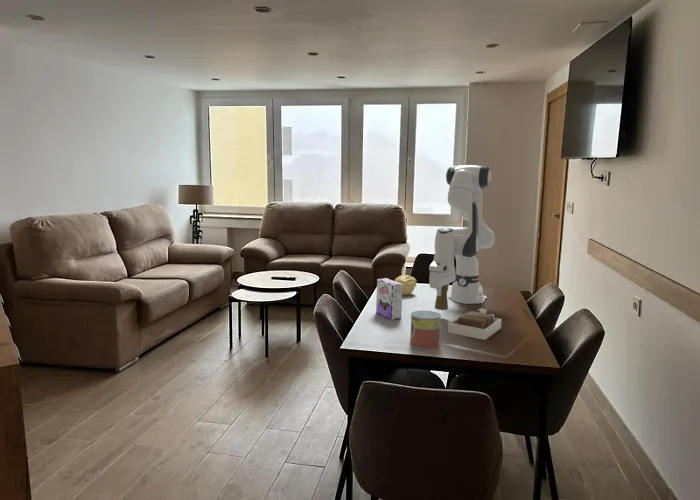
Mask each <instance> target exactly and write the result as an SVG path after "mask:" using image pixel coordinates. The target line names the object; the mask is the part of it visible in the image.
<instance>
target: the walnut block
mask: <svg viewBox="0 0 700 500" xmlns="http://www.w3.org/2000/svg"><path fill="white" fill-rule="evenodd" d="M491 314H492V313H486V314H485V313H480V311H478V312H477V311H475V310H470V311H468V312H466V314H465V313H464V314H462V315H460V316H458V317H459V318H458V317H457V318H458V324H460V325H465V326H470V327H475V328H480V329H485V328H487V327H488V326H490V325H491V324H493V318H494V317H493V315H494V314H493V315H491Z"/></svg>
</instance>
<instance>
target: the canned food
mask: <svg viewBox="0 0 700 500" xmlns="http://www.w3.org/2000/svg"><path fill="white" fill-rule="evenodd" d="M410 317H411V318H410V336H409V337H410V339H409V345H410V346H411V347H413V348H415V349H418V350H424V351H425V350H426V351H427V350H435V349H437V348H439V347H440V336H441V335H440V334H441V332H440V331H441V317H442V315H441V314H440V313H439V312H435V311H432V310H415V311H412V312H411V313H410Z"/></svg>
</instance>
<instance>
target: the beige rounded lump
mask: <svg viewBox="0 0 700 500" xmlns="http://www.w3.org/2000/svg"><path fill="white" fill-rule="evenodd" d="M394 281H395V282H398V283H401V284H403V290H402V296H408V295H412V294H413V293H414V290H415V287H416V286H417V279H416V278H415V277H413V276H411V275H409V274H404V275H399V276H398V277H396V278H395V279H394Z"/></svg>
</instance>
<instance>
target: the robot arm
mask: <svg viewBox="0 0 700 500" xmlns="http://www.w3.org/2000/svg"><path fill="white" fill-rule="evenodd" d="M445 180H446V183H447V184H448V185H449V188H448V193H447V202H448V205H449V206H450V207H451V208H452V209H453V210H455V211H456V212H459V215H460V217H461V218H462V219H463V220H465V221H466V222H467V223H468V226H453V227H440V228H438V229H437V230H436V233H435V238H434V255H433V260H432V262H431V263H430V265H429V266H428V271H429V279H428V280H429V281H428V282H429V288H430V289H435V290H436V297H437V296H442V292H441V289H442V286H444V285H447V286H448V288H449V286H450V283H452V285H451V293H450V294H451V295H449V296H448V300H449V299H450V300H451V301H453V302H455V303H458V304H459V303H460V304H464V305H465V304H467V305H468V304H470V305H473V304H480V303H482V304H484V303H485V302H486V300H487V298H488V297H487V295H484V294H483V292H484V291H483V290H484V289H483V286H482V285H481V283H480V278H481V274H480V273H479V260H478V258H477V257H476V255H477V254H478V253H479V251H480V250H483V249H489V248H492V247H493V246H494V244H495V240H496V235H495V233H494V231H493V230H492V229H491V228H490V227H488V225H487V224H486V223H485V219H484V218H483V190H485V188H487V187H488V186H489V185H490V183H491V181H492V171H491V168H490V167H489V166H486V165H474V164H468V165H467V164H466V165H451V166H449V167H448V168H447V170H446V174H445ZM455 260H456V266H455ZM485 299H486V300H485ZM483 302H484V303H483Z"/></svg>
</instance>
